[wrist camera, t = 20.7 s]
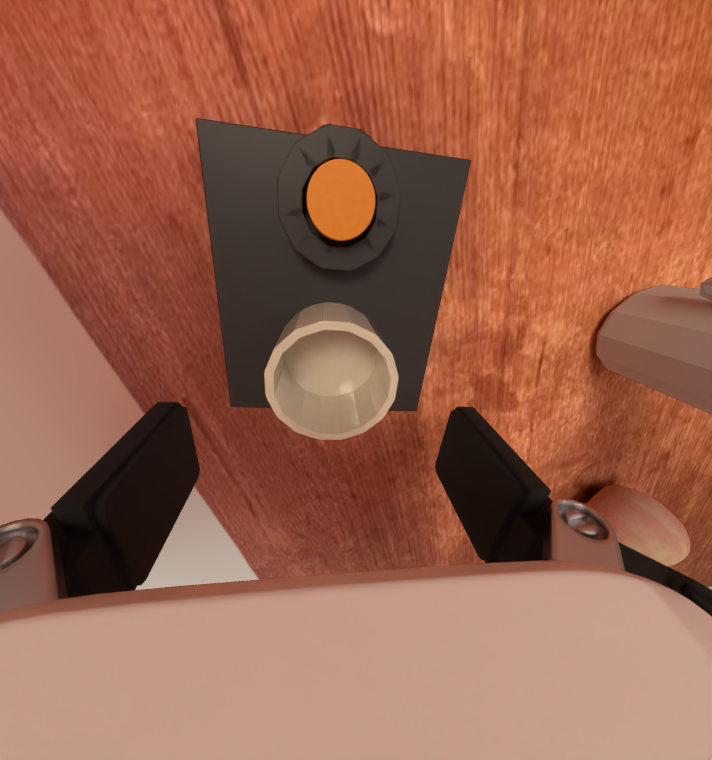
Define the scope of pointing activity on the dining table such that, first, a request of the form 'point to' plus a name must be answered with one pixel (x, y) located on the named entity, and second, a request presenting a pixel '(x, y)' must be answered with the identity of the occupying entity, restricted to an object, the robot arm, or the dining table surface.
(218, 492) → the dining table surface
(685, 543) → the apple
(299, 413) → the bowl
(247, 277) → the scale
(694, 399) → the water bottle
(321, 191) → the button
